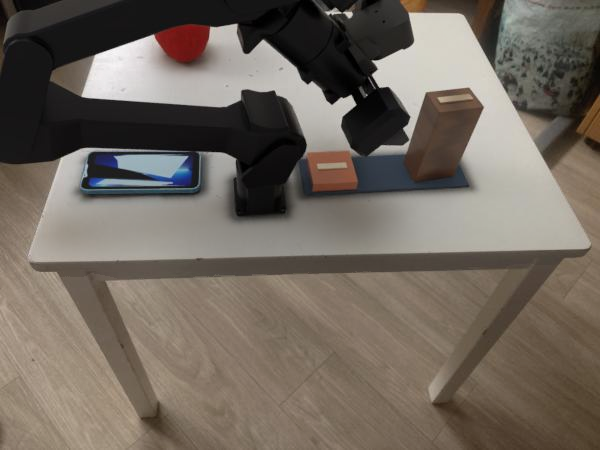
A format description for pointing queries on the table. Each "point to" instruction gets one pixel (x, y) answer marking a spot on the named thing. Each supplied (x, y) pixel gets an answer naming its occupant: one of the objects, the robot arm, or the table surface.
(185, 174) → the smartphone
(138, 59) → the table surface
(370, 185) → the word mat
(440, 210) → the table surface
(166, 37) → the apple
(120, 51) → the table surface
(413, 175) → the brown tall rectangular block
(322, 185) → the letter tile
